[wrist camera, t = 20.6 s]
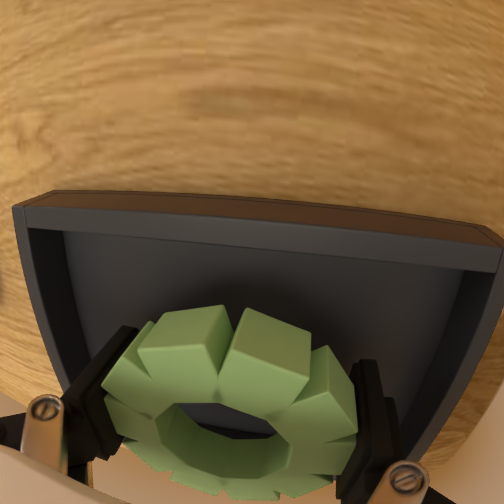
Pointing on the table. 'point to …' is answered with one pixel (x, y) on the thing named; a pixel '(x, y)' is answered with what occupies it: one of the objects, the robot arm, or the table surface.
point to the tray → (270, 286)
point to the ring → (234, 403)
